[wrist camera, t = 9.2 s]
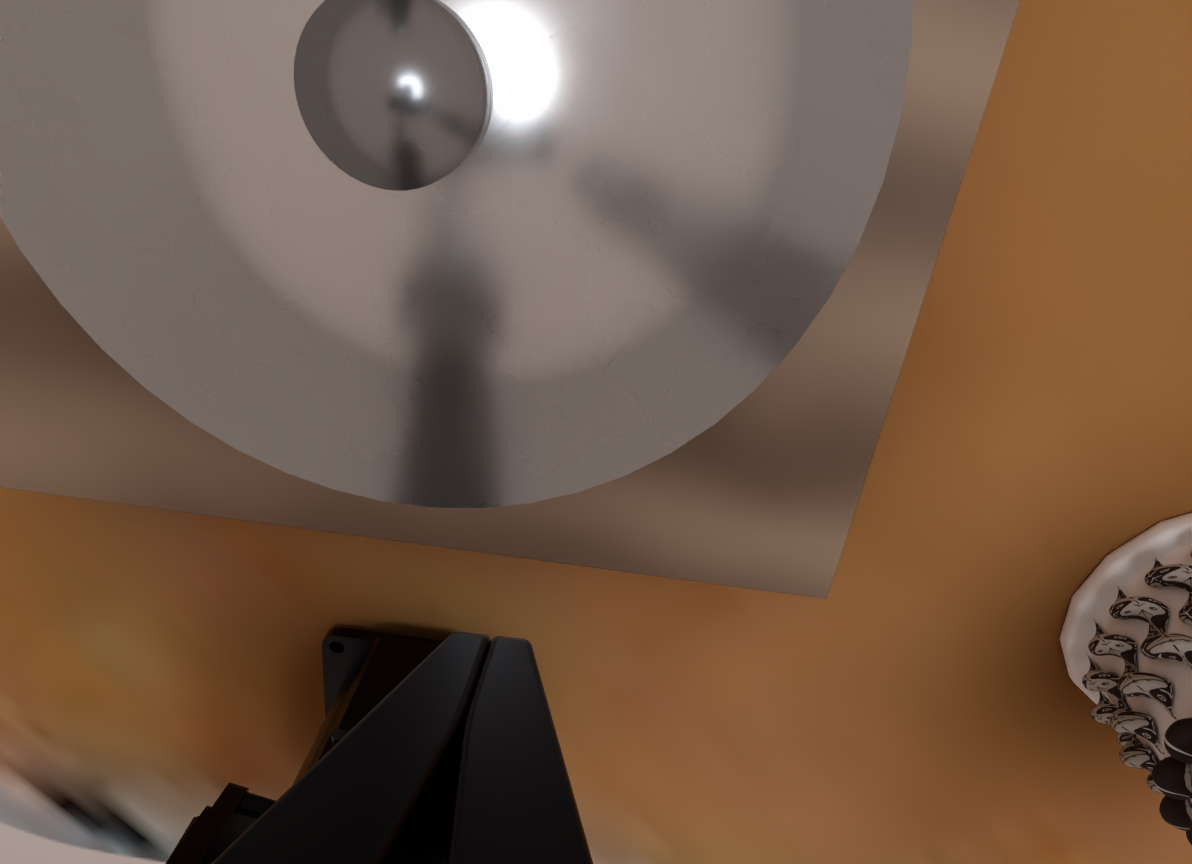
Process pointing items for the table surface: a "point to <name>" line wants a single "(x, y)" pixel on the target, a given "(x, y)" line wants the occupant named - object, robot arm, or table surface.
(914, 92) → the walnut stand
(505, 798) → the robot arm
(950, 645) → the table surface
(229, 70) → the dial
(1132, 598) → the decorative candle
